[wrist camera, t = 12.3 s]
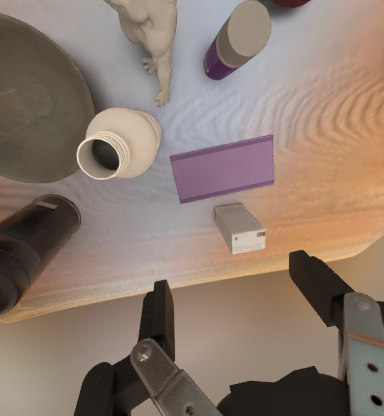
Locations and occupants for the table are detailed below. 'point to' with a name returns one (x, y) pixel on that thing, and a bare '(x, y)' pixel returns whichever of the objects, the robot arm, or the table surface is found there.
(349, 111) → the table surface
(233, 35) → the container
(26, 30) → the bowl
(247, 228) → the cosmetic box
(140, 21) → the figurine
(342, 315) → the robot arm
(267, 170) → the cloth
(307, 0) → the decorative ball
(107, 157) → the water bottle
